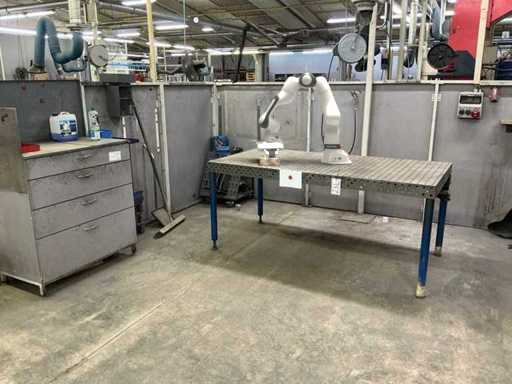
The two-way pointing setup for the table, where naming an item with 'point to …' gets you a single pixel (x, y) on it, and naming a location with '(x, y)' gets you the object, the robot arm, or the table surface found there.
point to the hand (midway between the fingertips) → (272, 154)
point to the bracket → (271, 154)
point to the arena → (269, 161)
